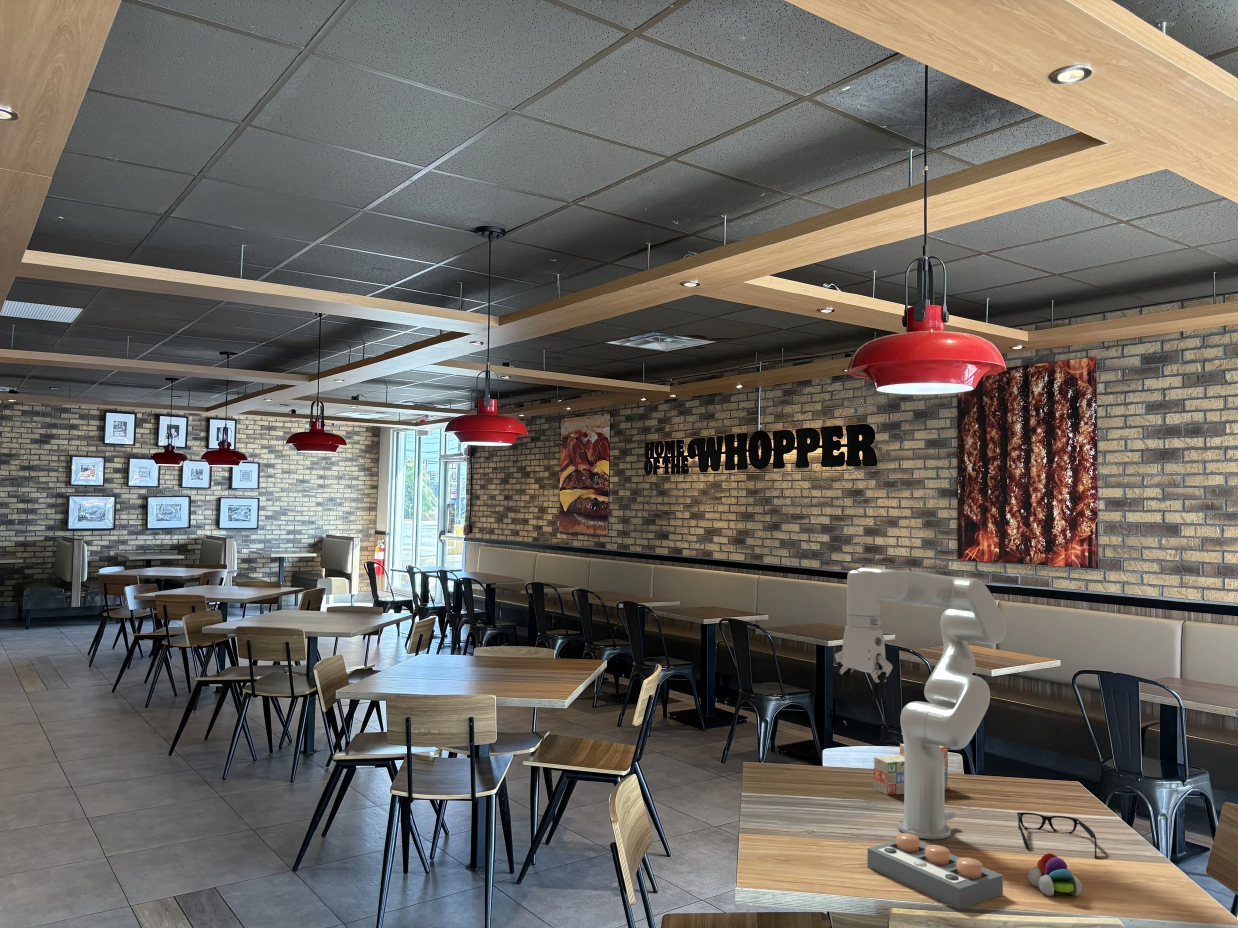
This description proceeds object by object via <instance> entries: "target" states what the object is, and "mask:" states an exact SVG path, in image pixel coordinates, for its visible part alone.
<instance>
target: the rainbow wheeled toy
mask: <svg viewBox="0 0 1238 928" xmlns="http://www.w3.org/2000/svg"><path fill="white" fill-rule="evenodd" d="M1027 878H1028V880H1029V882H1030V883H1031V885H1033V886H1034V887H1036V888H1039V890H1040V891H1041V893H1042V894H1043V895H1045V896H1047V897H1052V896H1054V894H1055V891H1056V892H1060V893H1069V894H1070V895H1071V896H1073V897H1076V896H1079V895H1080V894H1081V893H1082V891H1083V884H1082V882H1081V880H1080V878H1078V877H1077V876H1076V875H1073V873H1072V871H1070V870H1069V869H1068V865H1067V863H1066V861H1065V860H1064V859H1062V858H1060V857H1058V856H1057V855H1056V854H1053V853H1050V852H1049V853H1045V854H1043V856H1041V858H1040V859H1039V860H1038V861H1037V863H1036V866H1033V867H1031V868H1030V869H1029V870H1028V872H1027Z"/></svg>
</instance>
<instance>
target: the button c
mask: <svg viewBox="0 0 1238 928" xmlns="http://www.w3.org/2000/svg"><path fill="white" fill-rule="evenodd" d="M982 867H983V863H982V862H981V861H980V860H978V859H976V858H975V859H974V858H972V857H959V858H958V859H957V875H960V876H962V877H964V878H967V879H969V880H971V881H974V880H977V879H980V878H982Z"/></svg>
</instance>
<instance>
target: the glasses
mask: <svg viewBox="0 0 1238 928" xmlns="http://www.w3.org/2000/svg"><path fill="white" fill-rule="evenodd" d="M1016 814H1017V818H1018V819H1017V820H1018V822H1017V823H1018V825H1017V826H1018V830H1019V832H1020V833H1021V838H1022V840H1023V844H1024V847H1025V849H1026V850H1027V851H1028V852H1030V845H1029V843H1028V840H1027V838H1026V835H1025V834H1024V830H1023V829H1022V827H1023V828H1024V829H1026V830H1033V828H1030V827H1027V826H1025V825H1024V823H1023V816H1025V815H1028V816H1029V815H1030V816H1031V815H1032V816H1038V817H1040V818H1041V824H1040V826H1039V827H1036V828H1035V830H1037V831H1039V830H1041V829H1042V828H1043V827H1044V826H1046V825H1045V824H1046V822H1047V823H1048V825H1049V827H1050V828H1051V829H1052V830H1053V831H1054V832H1056V833H1063V834H1070V835H1071V834H1073V833H1075V832H1076V829H1077V827H1078V825H1080V826H1081V828H1082V829H1083V830H1084V832H1086V833H1087V834H1088V836H1089V837H1090V838H1091V839H1094V859H1095V860H1097V857H1098V856H1097V854H1098V853H1097V846H1098V845H1097V843H1098V842H1097V838H1096V837H1097V836H1096V835H1095V833H1094V831H1093V830H1092V828H1091V827H1089V826H1088V825H1086V824H1085V823H1084V822H1082V821H1081V820H1080V819H1079V818H1075V817H1072V816H1071V817H1070V816H1065V815H1051V816H1050V815H1048V816H1046V815H1042V814H1039V813H1035V812H1025V811H1024V812H1023V811H1021V812H1017V813H1016ZM1055 818H1056V819H1057V818H1058V819H1067V820H1071V821H1072V823H1073V828H1072V830H1071V831H1059V830H1058V829H1056V828H1055V827H1054V825H1053V822H1052V820H1053V819H1055Z"/></svg>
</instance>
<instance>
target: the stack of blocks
mask: <svg viewBox="0 0 1238 928" xmlns="http://www.w3.org/2000/svg"><path fill="white" fill-rule="evenodd" d="M939 747H940V749H941V751H942V754H943V757H944V764H945V770H944V790H948V786H949V785H948V772H949V771H948V769H949V757H948V756H949V755H948V753H949V748H946V747H942V746H939ZM873 762H874V763H873V764H874V765H873V789H874V790H876V791H878V792H880V793H882V794H883V795H886V796H889V795H890V796H893V795H904V765H905V755H904V743H900V744H899V754H893V755H883V756H880V755H879V756H874V759H873Z"/></svg>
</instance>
